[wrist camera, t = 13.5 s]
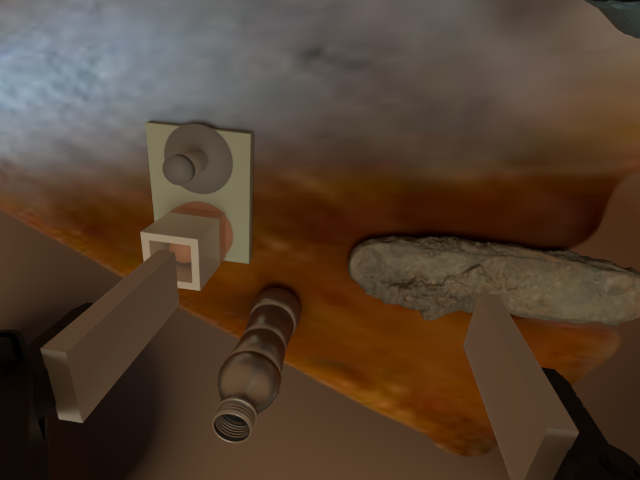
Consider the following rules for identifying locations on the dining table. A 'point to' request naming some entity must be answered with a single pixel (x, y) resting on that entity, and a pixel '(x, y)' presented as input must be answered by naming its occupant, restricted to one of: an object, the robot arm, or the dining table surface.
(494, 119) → the dining table surface
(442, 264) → the elongated rock
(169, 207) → the board with round knobs
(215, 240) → the sleeve
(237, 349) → the plastic bottle
